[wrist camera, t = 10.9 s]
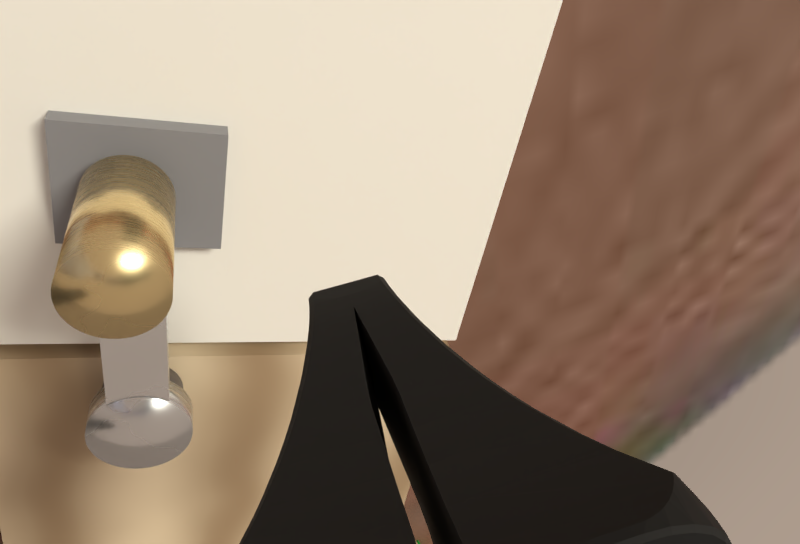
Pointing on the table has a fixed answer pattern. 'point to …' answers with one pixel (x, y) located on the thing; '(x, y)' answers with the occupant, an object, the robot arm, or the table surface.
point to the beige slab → (155, 486)
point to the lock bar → (125, 308)
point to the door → (268, 147)
